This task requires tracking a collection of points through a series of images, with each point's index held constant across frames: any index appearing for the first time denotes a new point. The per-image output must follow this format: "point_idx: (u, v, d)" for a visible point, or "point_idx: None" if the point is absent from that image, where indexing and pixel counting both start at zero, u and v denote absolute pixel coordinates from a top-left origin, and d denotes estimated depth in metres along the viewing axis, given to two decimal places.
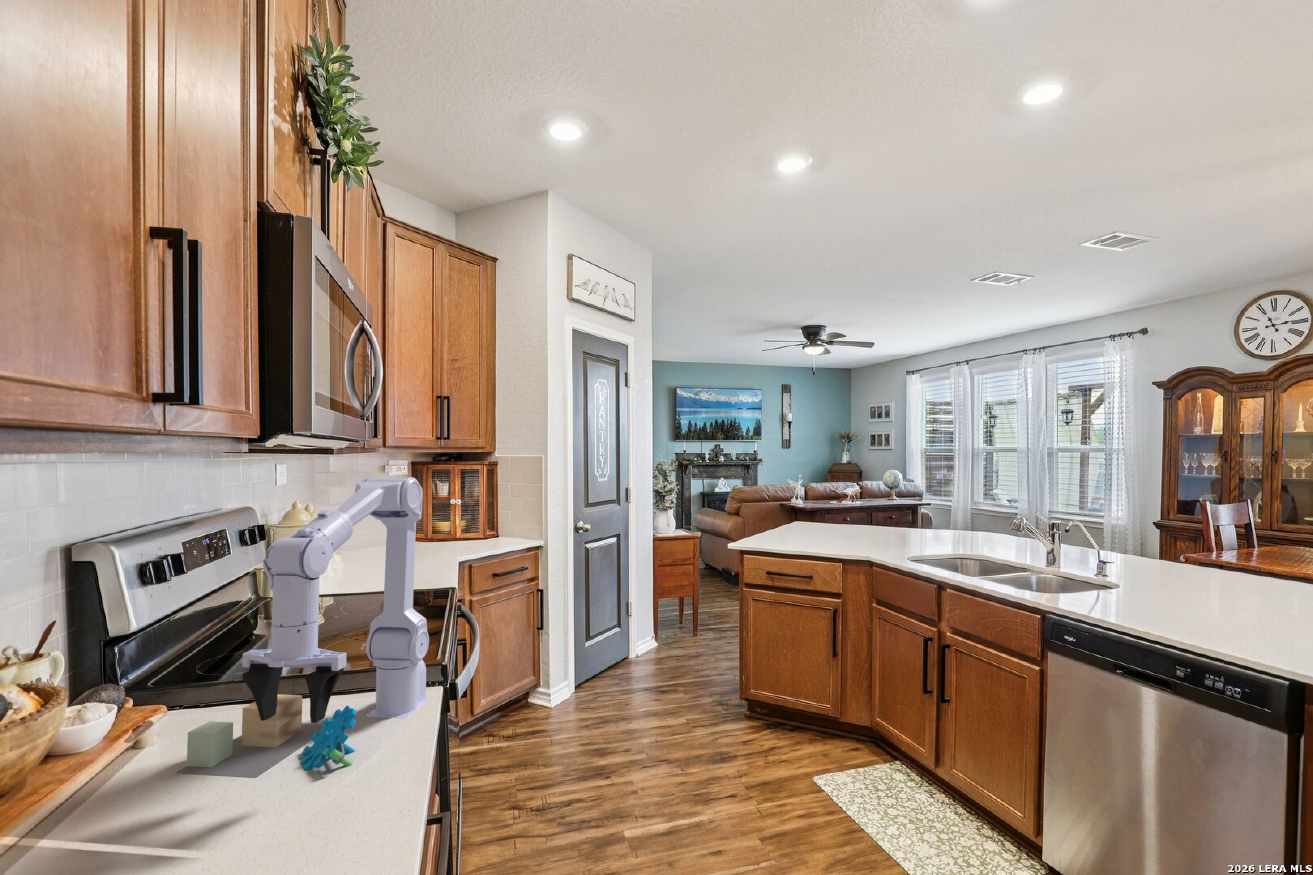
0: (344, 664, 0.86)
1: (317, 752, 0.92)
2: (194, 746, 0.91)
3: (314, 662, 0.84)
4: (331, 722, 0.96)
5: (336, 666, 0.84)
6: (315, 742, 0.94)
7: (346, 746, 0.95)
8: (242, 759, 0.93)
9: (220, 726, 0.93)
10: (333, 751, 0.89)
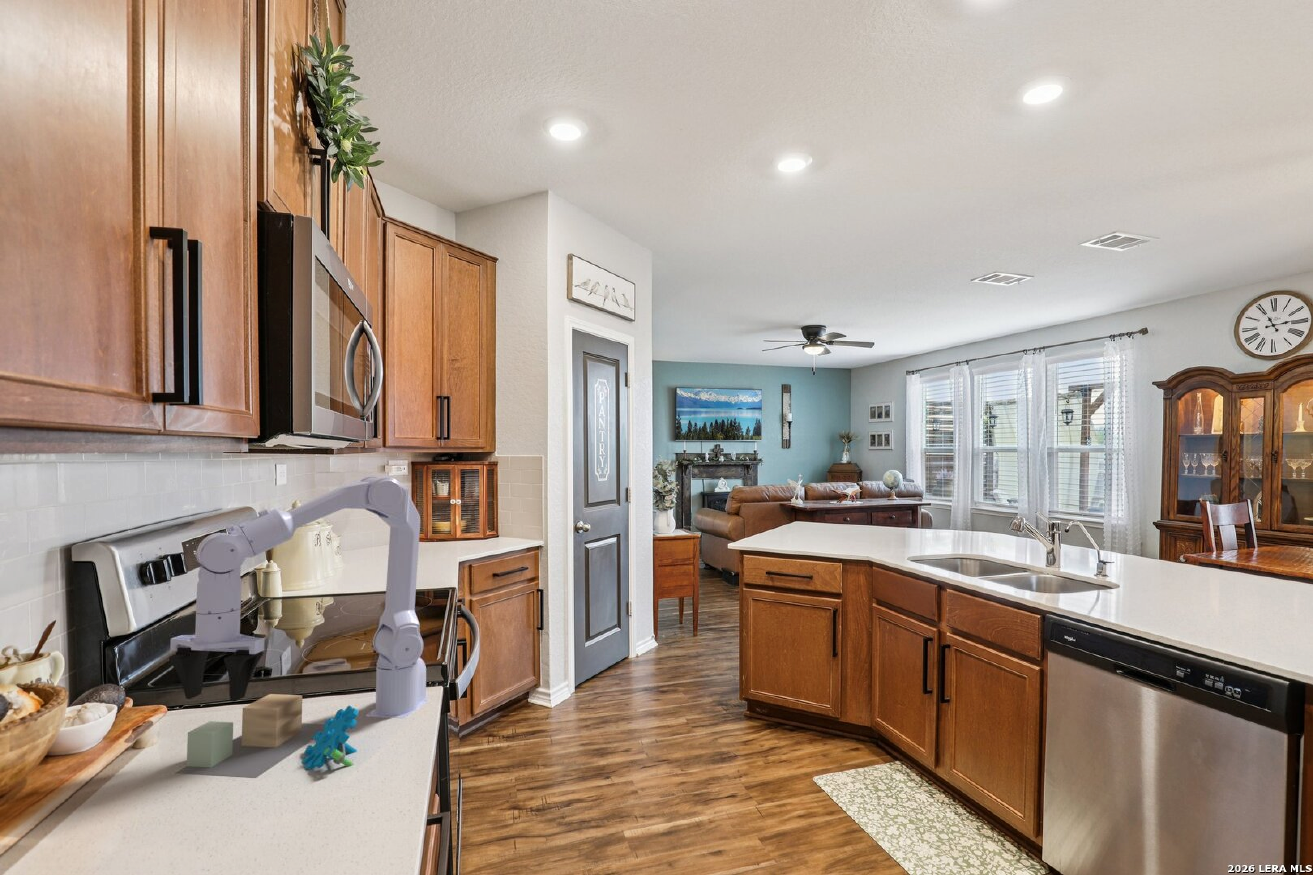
0: (262, 648, 0.95)
1: (318, 752, 0.92)
2: (194, 746, 0.91)
3: (233, 646, 0.93)
4: (333, 722, 0.96)
5: (253, 649, 0.93)
6: (317, 741, 0.94)
7: (348, 746, 0.95)
8: (242, 759, 0.93)
9: (220, 726, 0.93)
10: (334, 751, 0.89)
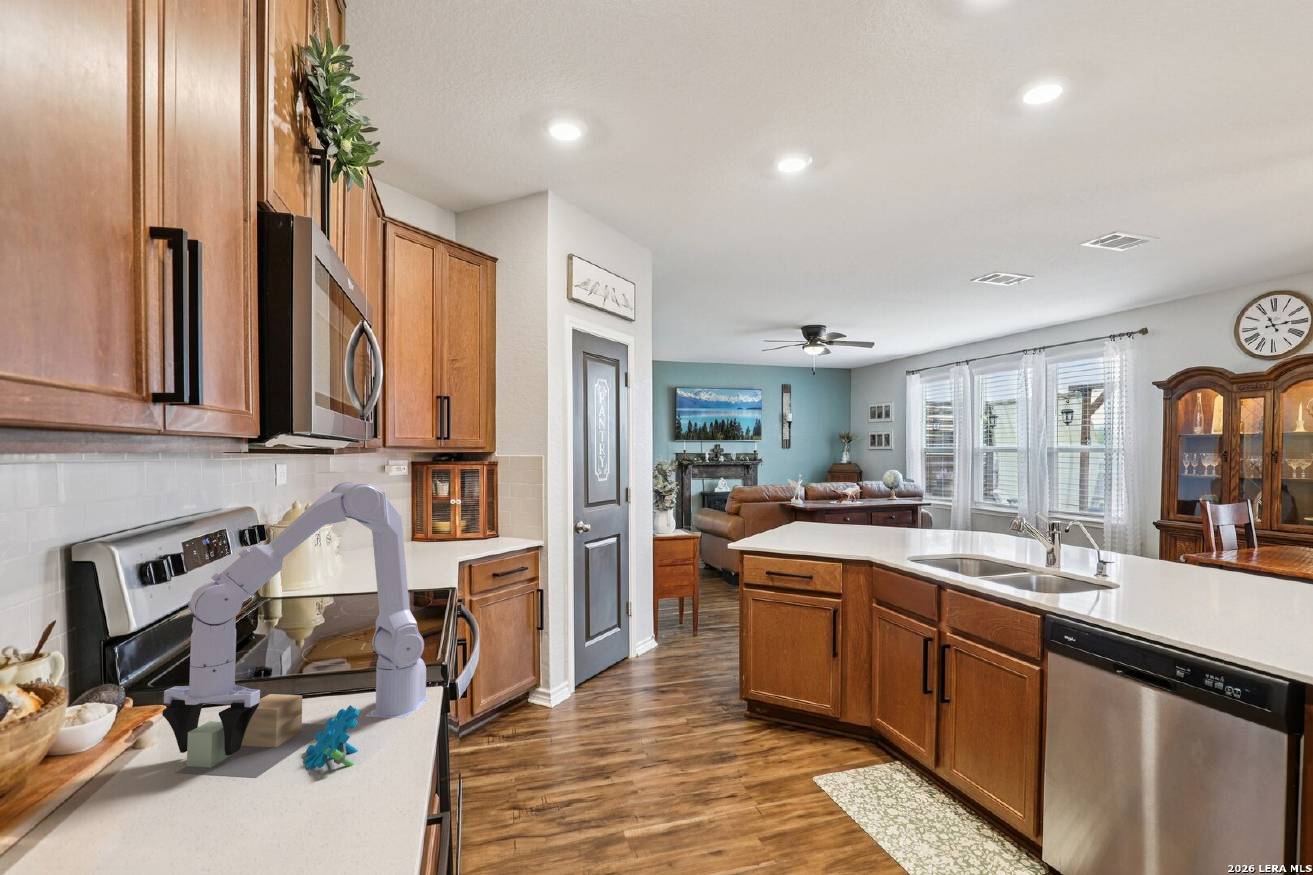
0: (257, 700, 0.93)
1: (319, 752, 0.92)
2: (194, 746, 0.91)
3: (228, 699, 0.91)
4: (334, 721, 0.96)
5: (248, 702, 0.92)
6: (318, 741, 0.94)
7: (349, 746, 0.95)
8: (242, 759, 0.93)
9: (220, 726, 0.93)
10: (334, 751, 0.89)
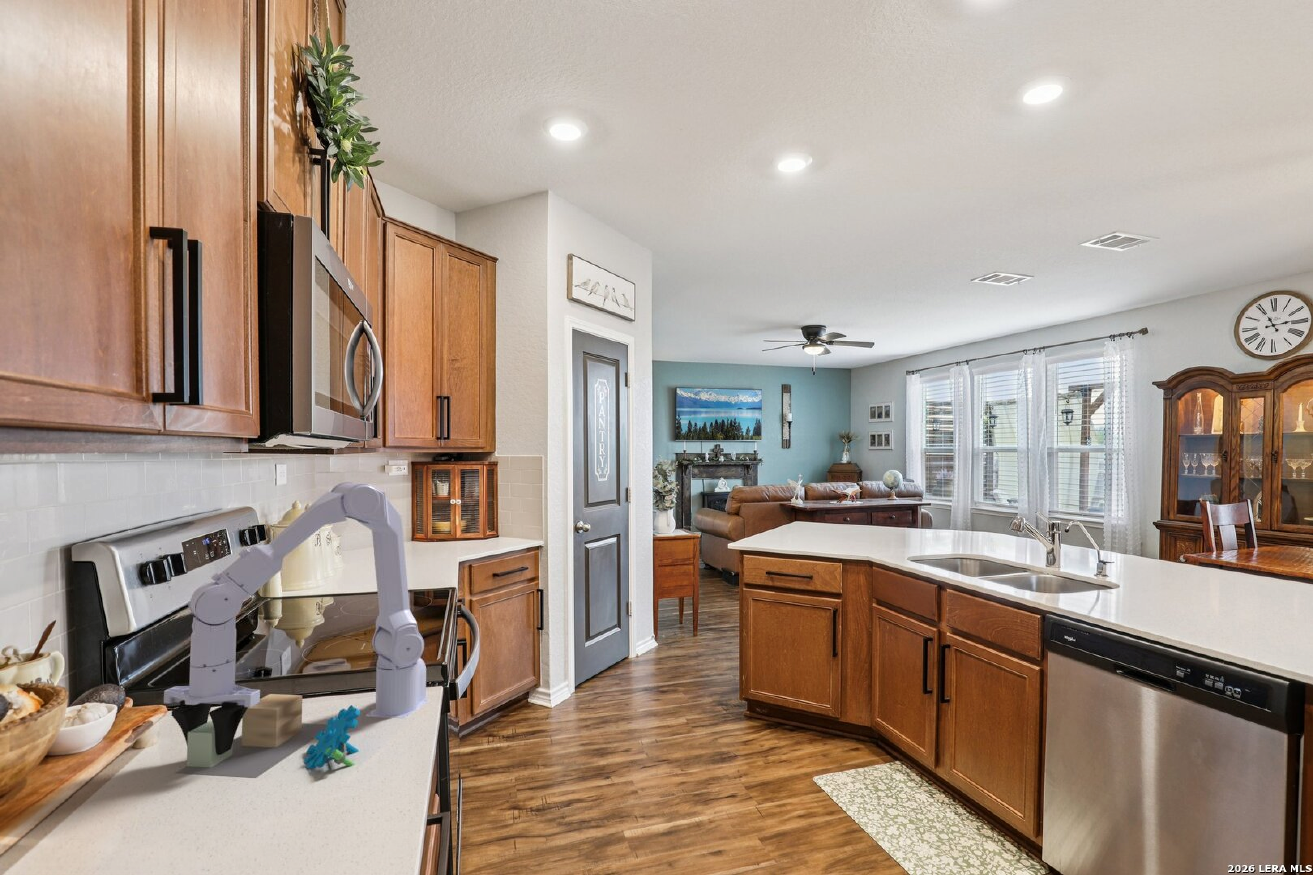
0: (257, 700, 0.93)
1: (320, 752, 0.92)
2: (194, 746, 0.91)
3: (228, 699, 0.91)
4: (335, 721, 0.96)
5: (248, 702, 0.92)
6: (319, 741, 0.95)
7: (349, 746, 0.95)
8: (242, 759, 0.93)
9: None
10: (334, 751, 0.89)
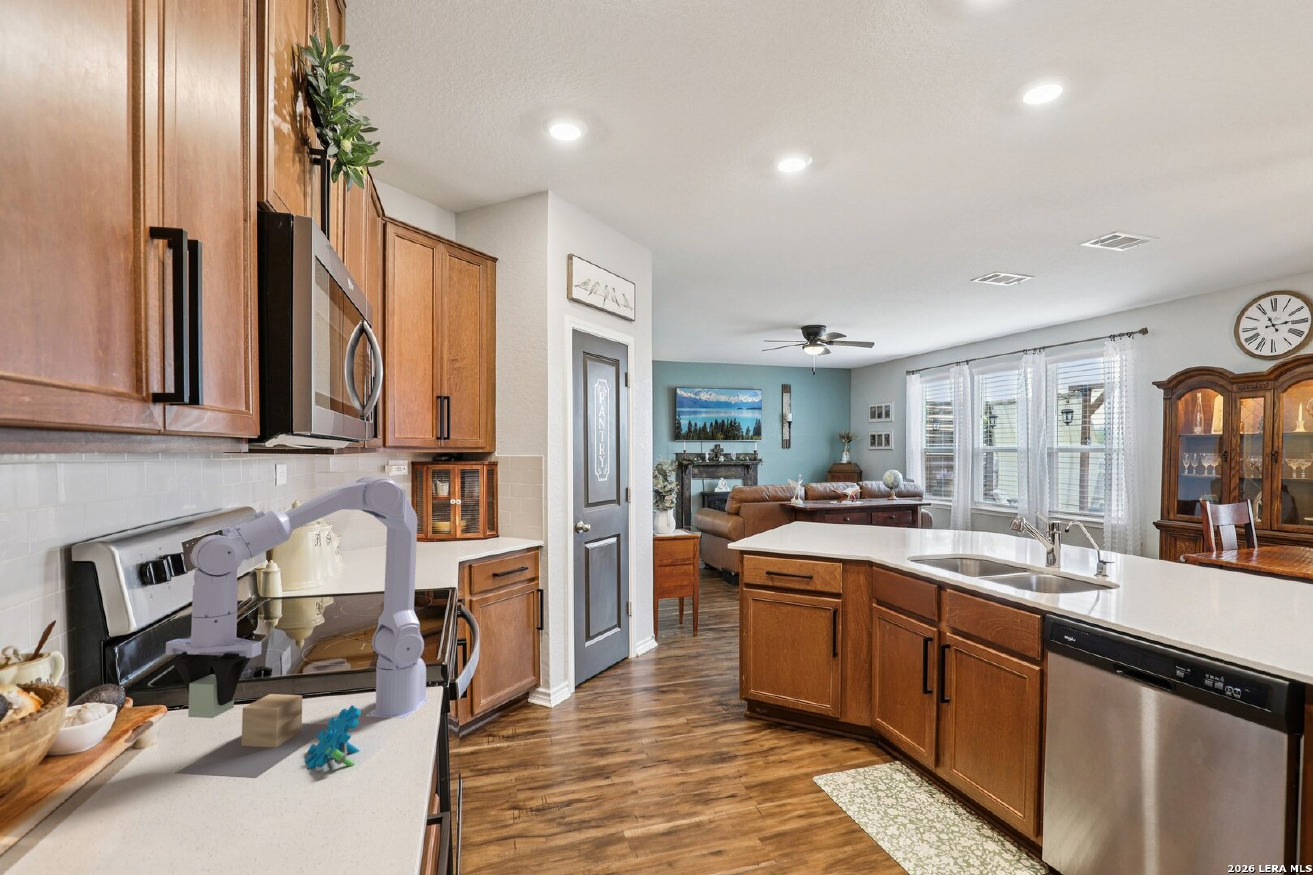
0: (259, 652, 0.93)
1: (320, 751, 0.92)
2: (196, 697, 0.91)
3: (230, 650, 0.92)
4: (336, 721, 0.96)
5: (250, 653, 0.92)
6: (320, 741, 0.95)
7: (350, 746, 0.95)
8: (242, 759, 0.93)
9: None
10: (334, 751, 0.89)
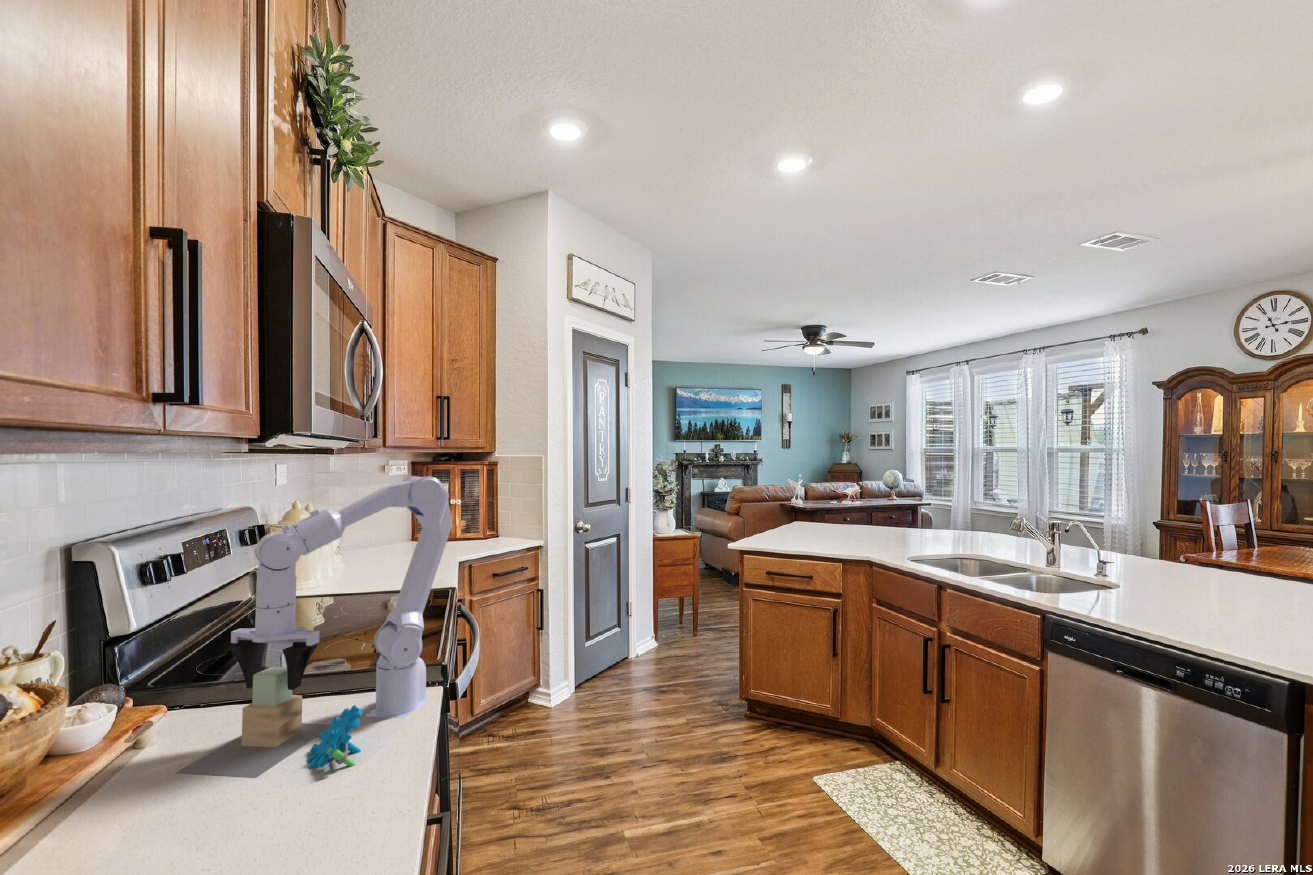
0: (317, 640, 1.01)
1: (322, 751, 0.92)
2: (259, 687, 0.99)
3: (291, 638, 0.99)
4: (338, 721, 0.97)
5: (310, 641, 0.99)
6: (322, 740, 0.95)
7: (352, 746, 0.95)
8: (242, 759, 0.93)
9: (281, 670, 1.01)
10: (335, 751, 0.89)
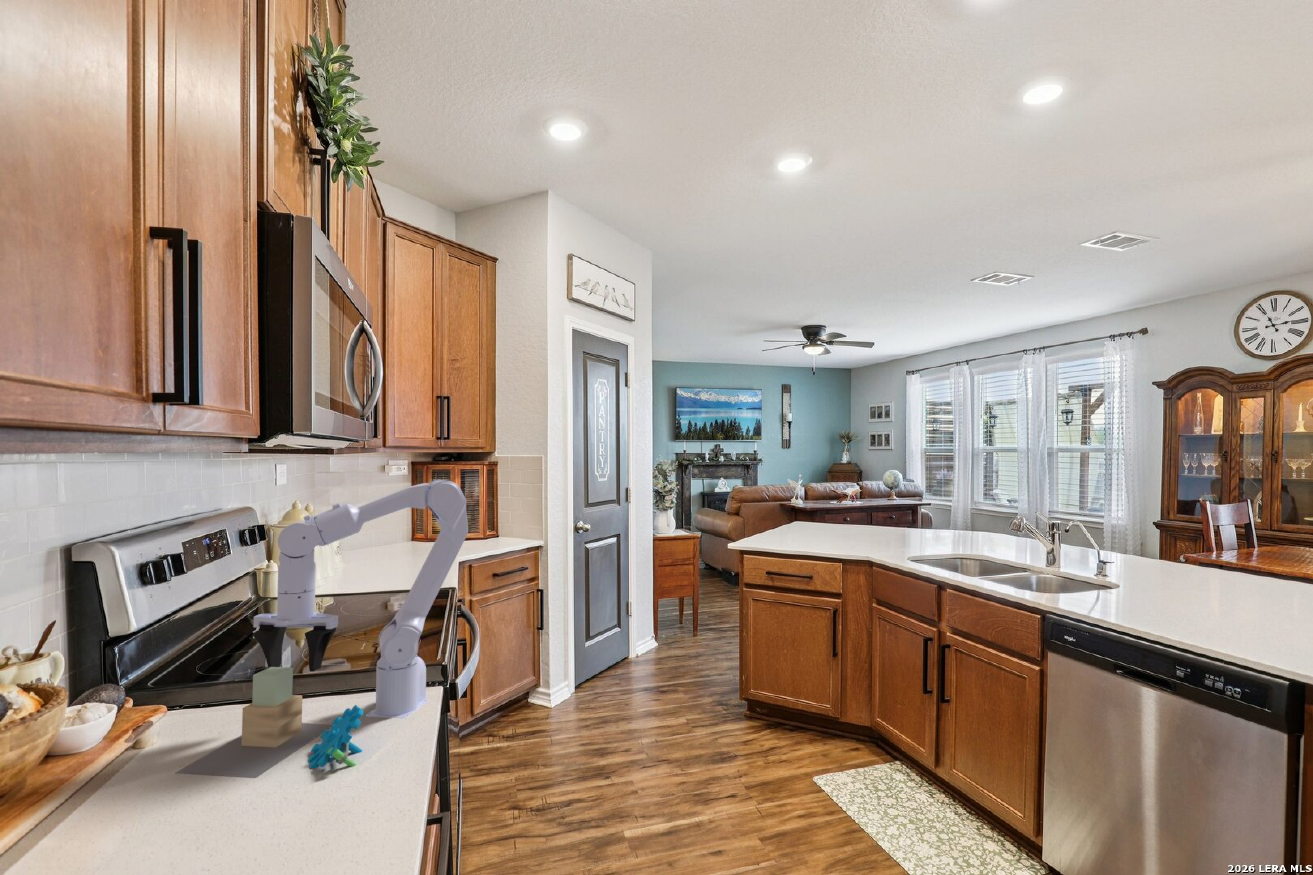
0: (336, 624, 1.06)
1: (323, 751, 0.92)
2: (259, 687, 0.99)
3: (312, 622, 1.04)
4: (340, 721, 0.97)
5: (329, 625, 1.04)
6: (323, 740, 0.95)
7: (353, 746, 0.95)
8: (242, 759, 0.93)
9: (281, 670, 1.01)
10: (335, 751, 0.89)
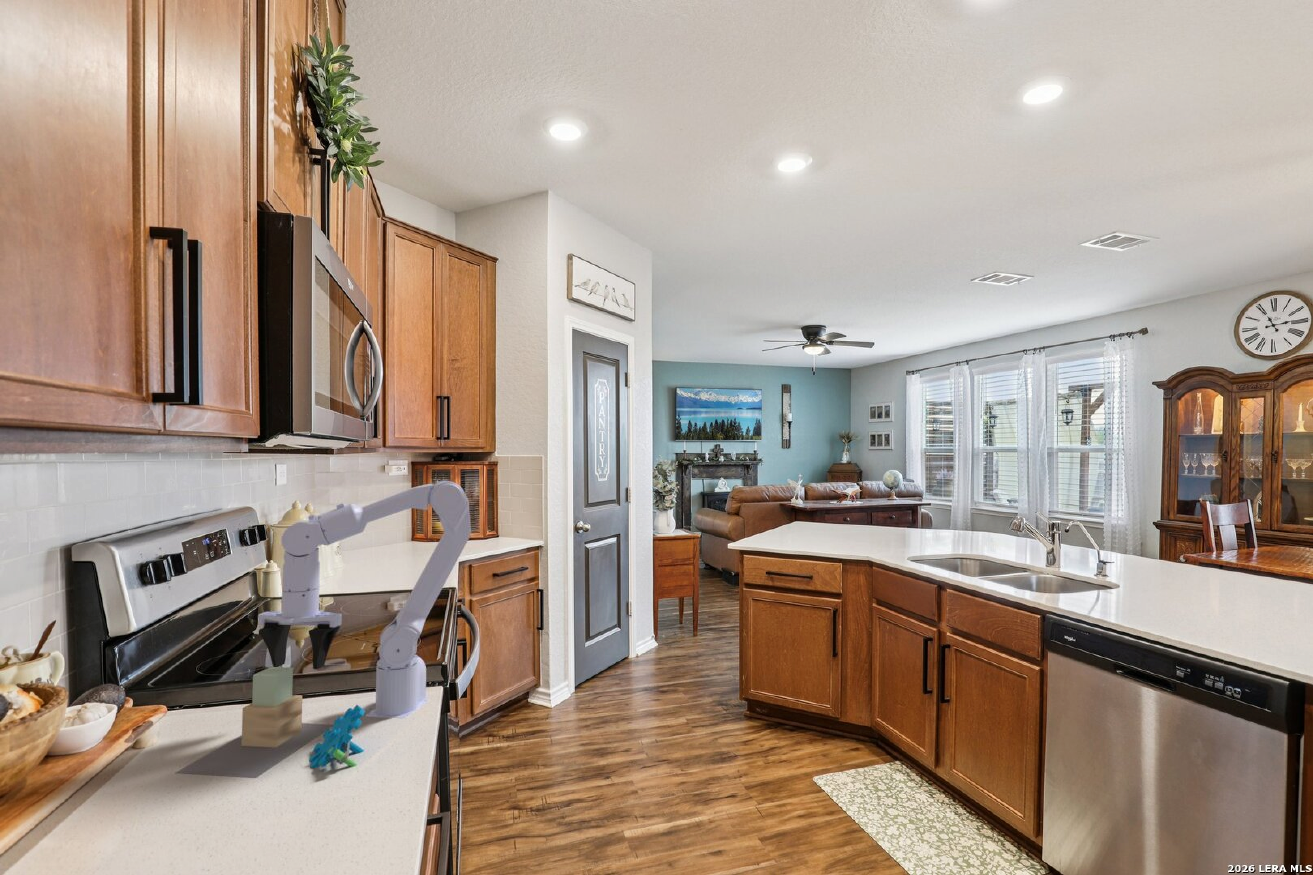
0: (340, 622, 1.07)
1: (324, 751, 0.92)
2: (259, 687, 0.99)
3: (316, 620, 1.05)
4: (341, 721, 0.97)
5: (333, 623, 1.06)
6: (325, 740, 0.95)
7: (354, 746, 0.95)
8: (242, 759, 0.93)
9: (281, 670, 1.01)
10: (336, 751, 0.89)
